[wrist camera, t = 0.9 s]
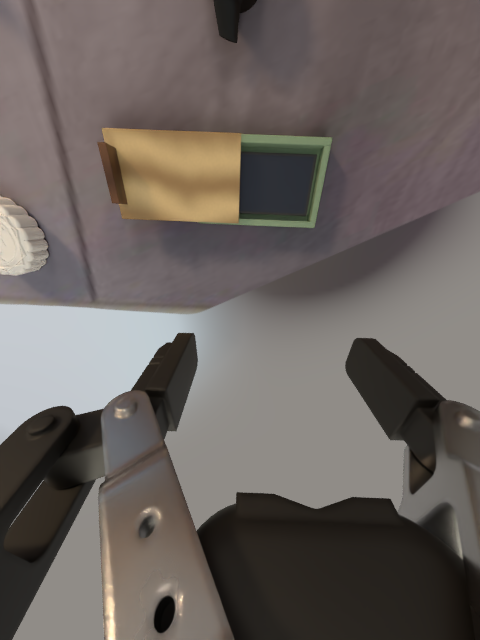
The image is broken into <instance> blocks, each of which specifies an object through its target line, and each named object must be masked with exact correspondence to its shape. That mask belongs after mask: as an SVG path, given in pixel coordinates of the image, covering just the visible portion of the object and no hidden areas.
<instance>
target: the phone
mask: <svg viewBox="0 0 480 640" xmlns="http://www.w3.org/2000/svg"><path fill="white" fill-rule="evenodd" d="M316 160H317V154H293V153H267V152H241V164H240V198H239V213H240V214H265V215H289V216H306V215H307V210H308V205H309V199H310V193H311V188H312V182H313V176H314V171H315V165H316Z"/></svg>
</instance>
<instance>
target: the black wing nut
mask: <svg viewBox="0 0 480 640" xmlns="http://www.w3.org/2000/svg"><path fill="white" fill-rule="evenodd" d="M256 1H257V0H214V6H215V12H216V18H217V24H218V29H219V35H220V36H221V37H223V38H224V39H226V40H228V41H231V42H234V43H237V34H238V22H239V14H240V13H243V12H245V11H247V10H249V9H250V8H251V7H252V6H253V5H254V4H255V3H256Z"/></svg>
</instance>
